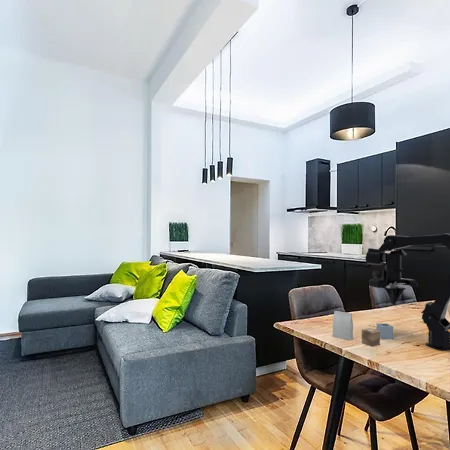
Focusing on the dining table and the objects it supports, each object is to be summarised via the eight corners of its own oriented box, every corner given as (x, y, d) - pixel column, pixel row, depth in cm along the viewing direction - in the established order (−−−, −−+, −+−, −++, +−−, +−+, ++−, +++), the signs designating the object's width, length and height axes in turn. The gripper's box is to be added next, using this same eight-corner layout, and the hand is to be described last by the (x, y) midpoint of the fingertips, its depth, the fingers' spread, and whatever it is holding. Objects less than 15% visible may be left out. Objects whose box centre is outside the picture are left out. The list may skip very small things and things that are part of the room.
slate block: (393, 339, 129) (393, 326, 129) (382, 339, 129) (382, 326, 129) (387, 335, 133) (387, 323, 134) (376, 335, 133) (376, 323, 133)
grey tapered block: (349, 340, 127) (349, 314, 127) (332, 336, 131) (332, 311, 131) (352, 338, 130) (353, 312, 130) (336, 334, 134) (336, 310, 134)
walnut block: (379, 344, 122) (379, 330, 122) (372, 346, 120) (372, 332, 120) (368, 341, 126) (368, 327, 126) (361, 343, 123) (361, 329, 124)
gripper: (398, 264, 143) (398, 299, 142) (360, 264, 139) (360, 301, 138) (418, 266, 132) (418, 305, 131) (378, 266, 128) (378, 306, 127)
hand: (393, 304), depth 132 cm, fingers closed
